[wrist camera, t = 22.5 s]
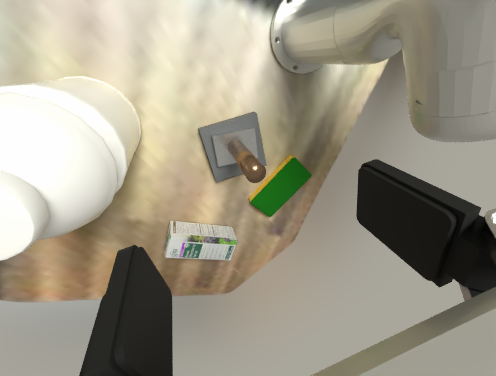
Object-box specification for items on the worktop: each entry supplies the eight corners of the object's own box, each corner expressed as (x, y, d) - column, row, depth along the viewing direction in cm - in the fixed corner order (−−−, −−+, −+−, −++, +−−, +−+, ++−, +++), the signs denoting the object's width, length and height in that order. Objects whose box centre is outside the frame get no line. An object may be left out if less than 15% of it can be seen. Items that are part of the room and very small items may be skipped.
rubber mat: (254, 111, 44) (256, 113, 43) (264, 162, 50) (266, 165, 49) (198, 128, 43) (199, 130, 41) (215, 179, 48) (216, 182, 47)
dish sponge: (247, 197, 53) (250, 203, 51) (289, 153, 51) (294, 157, 49) (266, 212, 57) (270, 217, 55) (307, 171, 55) (312, 175, 53)
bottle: (129, 73, 36) (49, 93, 12) (151, 156, 43) (127, 274, 19) (22, 78, 33) (-368, 121, 9) (64, 168, 39) (-96, 327, 16)
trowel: (252, 126, 44) (280, 148, 33) (255, 155, 47) (282, 184, 36) (211, 134, 42) (226, 160, 31) (217, 164, 45) (232, 197, 34)
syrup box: (231, 261, 53) (164, 259, 47) (225, 244, 57) (164, 240, 52) (238, 241, 50) (169, 236, 45) (232, 225, 55) (169, 219, 50)
